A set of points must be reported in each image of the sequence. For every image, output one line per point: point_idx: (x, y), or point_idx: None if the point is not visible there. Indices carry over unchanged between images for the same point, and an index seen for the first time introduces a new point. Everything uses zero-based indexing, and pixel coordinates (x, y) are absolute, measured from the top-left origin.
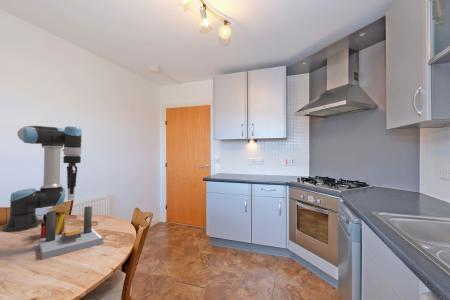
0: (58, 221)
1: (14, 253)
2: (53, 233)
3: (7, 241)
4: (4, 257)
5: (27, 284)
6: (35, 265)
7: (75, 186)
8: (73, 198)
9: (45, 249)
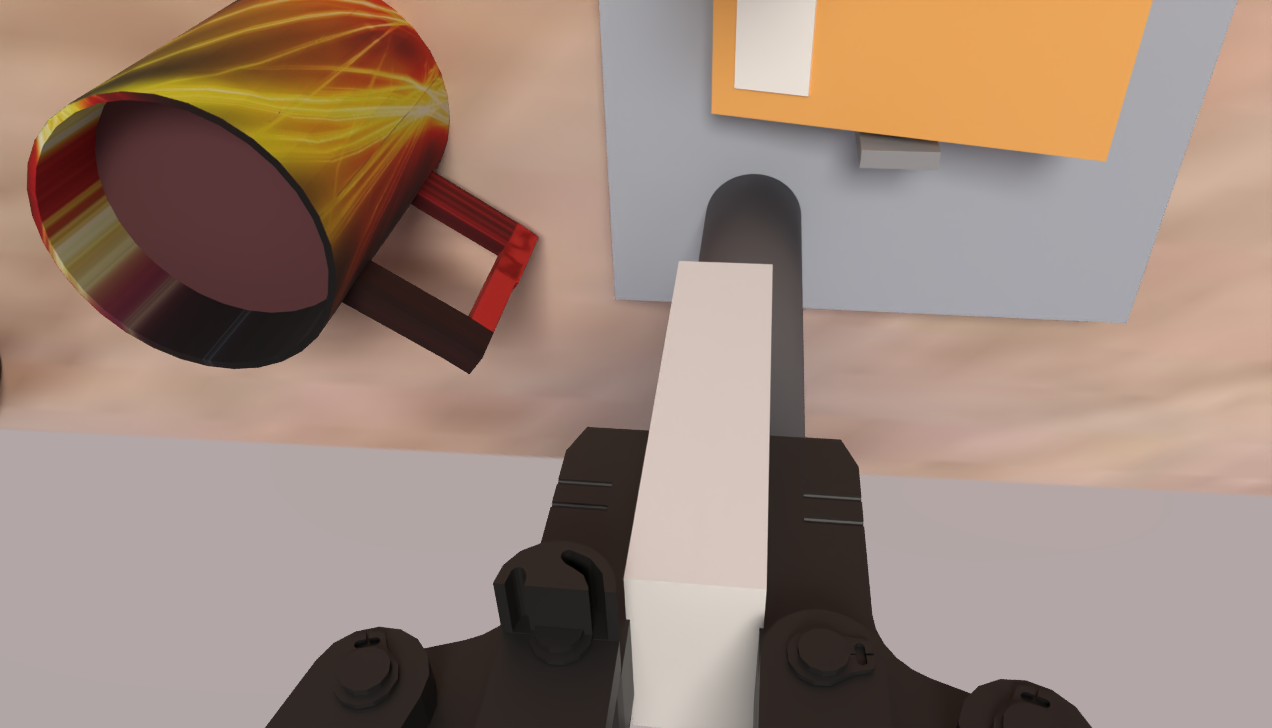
0: (355, 156)
1: None
2: (795, 243)
3: (313, 430)
4: None
5: None
6: (1200, 337)
7: (1052, 697)
8: (767, 306)
9: (1052, 293)
